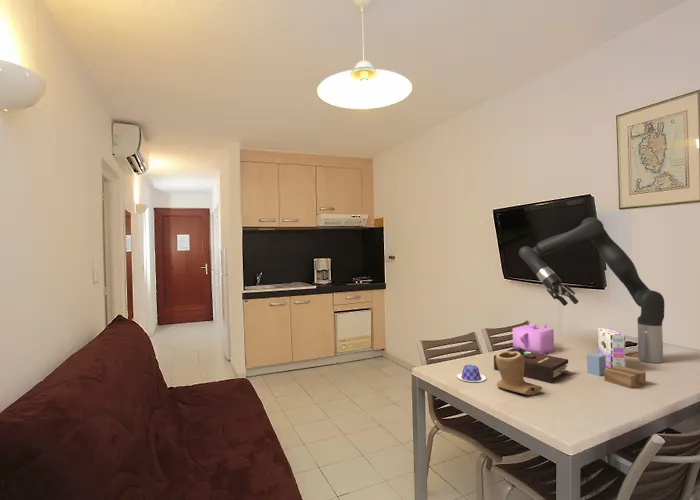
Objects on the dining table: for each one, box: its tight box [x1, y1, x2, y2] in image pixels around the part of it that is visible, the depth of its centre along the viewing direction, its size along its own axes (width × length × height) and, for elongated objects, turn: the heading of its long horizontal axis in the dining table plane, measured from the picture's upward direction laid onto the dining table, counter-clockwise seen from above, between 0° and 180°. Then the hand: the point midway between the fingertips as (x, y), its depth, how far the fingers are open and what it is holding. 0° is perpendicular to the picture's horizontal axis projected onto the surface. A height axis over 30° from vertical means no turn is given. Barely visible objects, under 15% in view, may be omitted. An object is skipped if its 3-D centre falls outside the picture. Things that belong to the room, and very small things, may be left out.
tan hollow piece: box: [495, 350, 543, 396], centre depth 152 cm, size 15×12×15 cm
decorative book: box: [493, 348, 569, 384], centre depth 173 cm, size 19×8×30 cm
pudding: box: [456, 364, 487, 383], centre depth 168 cm, size 12×12×5 cm
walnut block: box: [603, 366, 647, 390], centre depth 157 cm, size 10×10×5 cm
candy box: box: [597, 327, 626, 369], centre depth 176 cm, size 14×6×16 cm, turn 168°
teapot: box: [512, 323, 555, 355], centre depth 207 cm, size 15×25×14 cm, turn 125°
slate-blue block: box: [586, 352, 607, 377], centre depth 168 cm, size 5×5×8 cm
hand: (571, 303), depth 184 cm, fingers open, 8 cm apart
